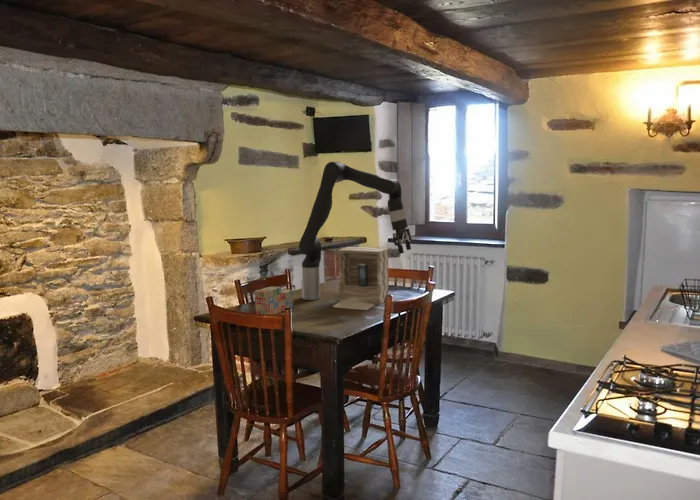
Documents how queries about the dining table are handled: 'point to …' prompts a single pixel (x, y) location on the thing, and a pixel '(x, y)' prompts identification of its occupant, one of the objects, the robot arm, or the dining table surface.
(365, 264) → the tin
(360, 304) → the tile
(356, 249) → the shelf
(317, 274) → the robot arm
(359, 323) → the dining table surface
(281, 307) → the stack of blocks
